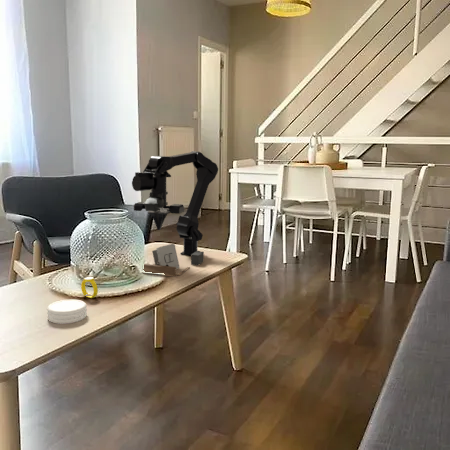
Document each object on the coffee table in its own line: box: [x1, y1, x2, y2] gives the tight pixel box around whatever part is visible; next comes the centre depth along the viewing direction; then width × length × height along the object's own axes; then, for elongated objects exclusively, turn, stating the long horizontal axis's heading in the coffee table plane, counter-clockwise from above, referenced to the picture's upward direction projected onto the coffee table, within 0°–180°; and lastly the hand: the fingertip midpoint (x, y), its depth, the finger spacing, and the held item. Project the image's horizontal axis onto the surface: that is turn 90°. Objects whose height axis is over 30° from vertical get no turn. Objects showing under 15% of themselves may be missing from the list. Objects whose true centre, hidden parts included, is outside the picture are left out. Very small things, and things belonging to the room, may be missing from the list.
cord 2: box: [190, 250, 205, 266], centre depth 186 cm, size 6×3×4 cm, turn 164°
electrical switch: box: [151, 243, 180, 270], centre depth 175 cm, size 9×5×9 cm, turn 146°
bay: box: [142, 263, 191, 277], centre depth 175 cm, size 12×14×3 cm
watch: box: [80, 276, 99, 299], centre depth 145 cm, size 6×3×6 cm, turn 55°
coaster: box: [46, 299, 88, 325], centre depth 129 cm, size 10×10×4 cm
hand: (158, 229), depth 187 cm, fingers closed
